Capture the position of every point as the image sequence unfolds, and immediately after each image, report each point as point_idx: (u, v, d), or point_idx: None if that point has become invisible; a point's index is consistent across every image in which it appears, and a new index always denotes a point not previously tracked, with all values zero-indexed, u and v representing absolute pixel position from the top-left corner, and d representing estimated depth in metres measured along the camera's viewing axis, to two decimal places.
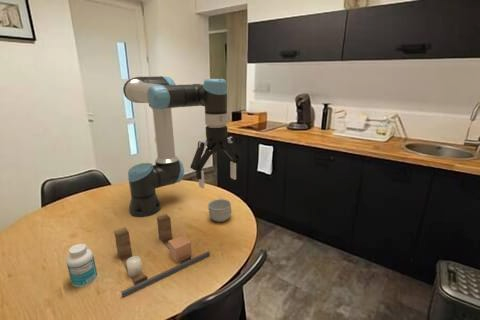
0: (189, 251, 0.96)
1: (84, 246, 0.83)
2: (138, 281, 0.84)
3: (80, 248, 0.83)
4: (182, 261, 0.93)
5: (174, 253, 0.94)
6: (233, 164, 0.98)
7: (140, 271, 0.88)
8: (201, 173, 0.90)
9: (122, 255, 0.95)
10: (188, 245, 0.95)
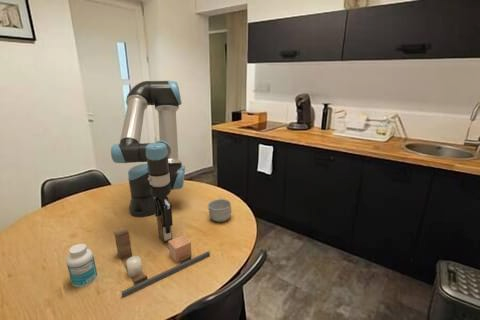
0: (189, 251, 0.96)
1: (84, 246, 0.83)
2: (138, 281, 0.84)
3: (80, 248, 0.83)
4: (182, 261, 0.93)
5: (174, 253, 0.94)
6: None
7: (140, 271, 0.88)
8: None
9: (122, 255, 0.95)
10: (188, 245, 0.95)
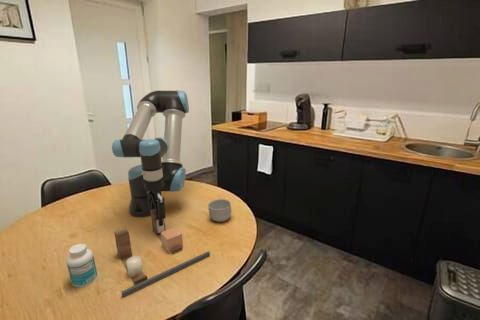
0: (180, 242, 1.01)
1: (84, 246, 0.83)
2: (138, 281, 0.84)
3: (80, 248, 0.83)
4: (174, 251, 0.98)
5: (166, 244, 0.99)
6: None
7: (140, 271, 0.88)
8: None
9: (122, 255, 0.95)
10: (179, 236, 1.00)
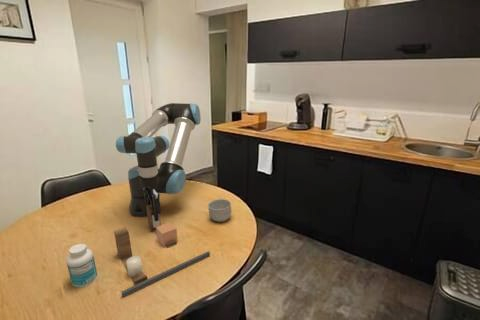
0: (175, 236, 1.05)
1: (84, 246, 0.83)
2: (138, 281, 0.84)
3: (80, 248, 0.83)
4: (168, 245, 1.02)
5: (161, 238, 1.02)
6: None
7: (140, 271, 0.88)
8: None
9: (122, 255, 0.95)
10: (174, 231, 1.04)
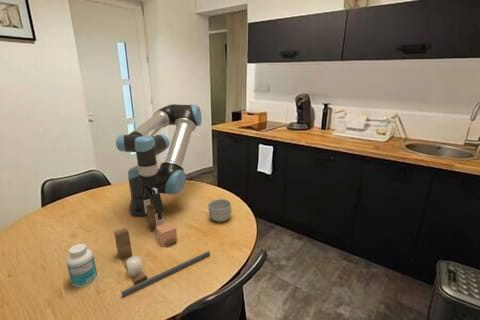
0: (175, 236, 1.05)
1: (84, 246, 0.83)
2: (138, 281, 0.84)
3: (80, 248, 0.83)
4: (168, 245, 1.02)
5: (160, 238, 1.02)
6: None
7: (140, 271, 0.88)
8: None
9: (122, 255, 0.95)
10: (174, 230, 1.04)
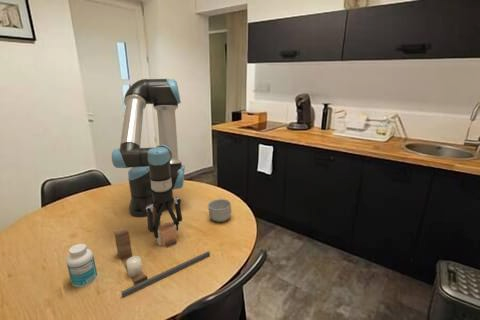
0: (175, 236, 1.05)
1: (84, 246, 0.83)
2: (138, 281, 0.84)
3: (80, 248, 0.83)
4: (168, 245, 1.02)
5: None
6: None
7: (140, 271, 0.88)
8: (158, 233, 1.02)
9: (122, 255, 0.95)
10: (174, 230, 1.04)
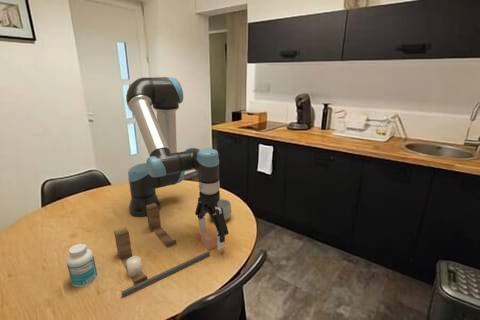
0: (207, 247, 1.01)
1: (84, 246, 0.83)
2: (138, 281, 0.84)
3: (80, 248, 0.83)
4: (168, 245, 1.02)
5: None
6: None
7: (140, 271, 0.88)
8: None
9: (122, 255, 0.95)
10: (207, 241, 1.00)
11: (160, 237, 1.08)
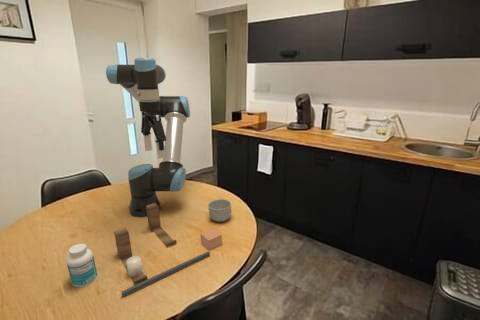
0: (207, 247, 1.01)
1: (84, 246, 0.83)
2: (138, 281, 0.84)
3: (80, 248, 0.83)
4: (168, 245, 1.02)
5: None
6: None
7: (140, 271, 0.88)
8: None
9: (122, 255, 0.95)
10: (207, 241, 1.00)
11: (160, 237, 1.08)
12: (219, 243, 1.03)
